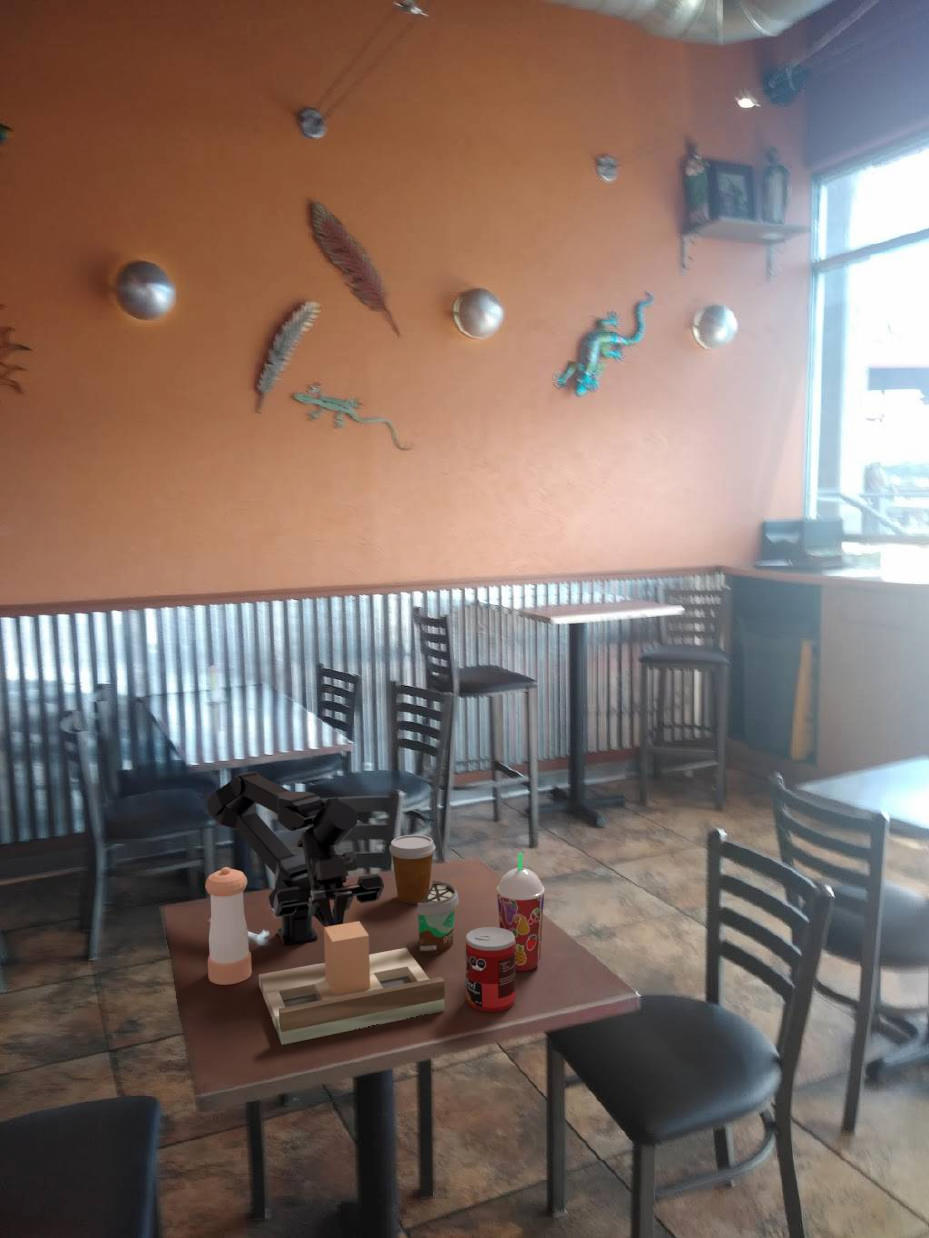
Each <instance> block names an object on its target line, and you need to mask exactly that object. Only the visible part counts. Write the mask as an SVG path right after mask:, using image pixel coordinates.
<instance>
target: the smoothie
mask: <svg viewBox="0 0 929 1238" xmlns="http://www.w3.org/2000/svg"><path fill="white" fill-rule="evenodd" d="M545 889H546V888H545V887H544V884H542V881H541V880H540V877H539V876H538V875H537V874H536V873H535V872H534V871H533V870H530V869H528V868H524V867H523V853H522V852H521V853H520V852H519V853H518V867H516V868H513V869H510V870H509V871H508V872H506V873H505V874H504V875H503V877H501V880H500V883H499V885H497V887H496V893H497V895H496V897H497V907H498V922H499V928H503V929H506V930H508V931H510V932H512V933H513V934H514V936H515V972H516V971H517V972H527V971H528V972H529V971H530V970H531V971H532V970H533V969H535V968H536V967H538V964H539V962H540V960H541V958H542V957H541V955H542V954H541V953H542V939H543V937H542V936H543V935H542V934H543V919H544V918H543V916H544V900H545Z"/></svg>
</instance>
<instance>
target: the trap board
mask: <svg viewBox="0 0 929 1238" xmlns="http://www.w3.org/2000/svg"><path fill="white" fill-rule="evenodd" d="M369 962H370V988H369V989H364V990H359V991H354V992H349V993H344V994H339V995H334V994H333V992H332V990H331V989H330V987H329V985H328V983H327V981H326V979H325V962H322V963H321V962H320V963H315V964H310V965H305V966H298V967H293V968H287V969H283V970H277V971H272V972H266V973H260V974H258V984H259V989H260V991H261V994H262V996H263V1000H264V1002H265V1004H266V1007H267V1010H268V1013H269V1015H270V1017H272V1018H271V1020H272V1023H273V1025H274V1028H275V1031H276V1033H277V1036H278V1038H279V1041H280V1044H281V1045H282V1046H284V1045H288V1044H294V1043H297V1042H298V1043H299V1042H302V1041H308V1040H311V1039H316V1038H322V1037H327V1036H331V1035H336V1034H341V1033H346V1032H349V1031H355V1029H356V1030H359V1028H360V1029H365V1028H368V1026H370V1027H372V1026H371V1025H375V1026H377V1025H376V1024H379V1025H383V1024H388V1023H393V1022H397V1021H402V1020H407V1018H408V1019H411V1018H410V1017H413V1018H417V1017H416V1016H418V1017H420V1016H419V1015H422V1016H425V1015H424V1014H427V1015H431V1014H435V1013H442V1012H445V1011H446V1004H445V1003H446V1001H445V1000H446V999H445V996H446V995H445V994H446V993H445V979H444V978H443V977H442V976H438V977H437V976H436V977H432V978H430V977H429V976H428V975H427V974H426V973H425V971H424V970H423V969H422V967H421V965H420V964H419V963H418V961H416V959H415V958H414V957H413V955H412V954H411V953H410V952H409V950H408V948H407V947H404V948H403V947H402V948H397V949H392V950H387V951H382V952H381V951H380V952H376V953H369ZM364 1027H365V1028H364Z"/></svg>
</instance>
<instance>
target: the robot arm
mask: <svg viewBox="0 0 929 1238" xmlns="http://www.w3.org/2000/svg"><path fill="white" fill-rule="evenodd" d="M256 804H258V805H260V806H262V807H263V808H265V809H267V810H268V811H271V812H273V813H274V814H275V815H276V816H277V821H278V823H280V824H281V825H282V826H283V827H284V828H285V829H287V830H288V831H290V832H295V831H298V830H302V829H306V828H307V829H306V830H305V831H304V832H301V836H300V838H299V839H298V840H297V847H298V848H302V851H303V853H300V854H297V855H295V854H294V853H293V852H292V851H291V850H290V849H289V848H288V847H287V846H286V845H285V844H284V841H282V840H281V839H280V838H279V837H278V836H277V835H276V833H275V832H274V831H273V830H272V829H271V828H270V827H269V825H267V823H266V822H265V821H264V820H263V818H261V817H260V816H259V814H257V812H256ZM206 806H207V812H208V814H209V815H210V816H211V817H212V818H213V819H214V820H215V821H216V822H217V823H219V825H221V826H223V827H226V828H230V829H233V830H236V832H237V833H238V834H239V835H240V836H241V837H242V838H243V839H244V841H245V842H246V843H247V844H248V845H249V846H250V848H251V849H252V850H253V851H254V852H255V854H257V855H258V857H259V858H260V859H261V860H262V862H263V863H264V864H265V865H266V866H267V867H268V868H269V870H270V871H271V872H272V873H273V875H274V889H273V890H272V891H271V893H270V894H269V896H268V899H269V901H268V902H269V905H270V908H271V909H273V911H274V917H276V918H281V928H278V929H277V935H278V936H279V938H280V940H281V943H282V944H283V945H285V946H286V945H293V944H298V943H303V942H309V941H315V940H316V941H317V940H318V939H319V936H318V934H317V932H316V930H315V929H314V927H313V917H314V918H316V920H317V921H318V922H319V923H320V924H321V925H322V926H323V928H324V927H328V926H334V925H340V924H344V920H345V919H344V918H345V912H346V911H348V910H349V909H350V907H351V905H352V902H353V900H354V897H355V898H356V901H358V903H360V904H366V903H372V902H376V901H378V900H380V898H381V895H382V893H383V891H384V888H385V884H384V881H383V878H382V876H381V875H379V874H378V873H376V874H370V875H362V876H359V877H358V879H357V882H356V883H355V884H351V885H350V884H349V885H344V883H347V880H348V879H347V877H349V872H353V871H356V870H357V869H358V860H357V855H356V852H355V851H353V850H352V851H346V852H344V853H343V854H342V857H340V856H339V854H338V853H337V849H336V848H337V847H336V846H338V845H339V844H341V843H342V842H343V840H345V838H347V835H349V834H350V833H351V831H352V830H353V829H354V828H355V827H356V826H357V823H358V819H359V818H358V815H357V812H356V809H354V808H353V807H351V805H349V804H348V803H345V802H343V801H340V799H339V797H337V796H334V797H331V798H327V799H326V801H324V800H322V798H321V797H320V796H319V795H318V794H317V793H314V792H309V791H294V790H293V791H292V790H289V789H287V788H285V787H283V786H282V785H279V784H277V783H275V782H273V781H271V780H269V779H267V778H265V777H263V776H261V773H259V772H258V771H249V772H245V773H240V774H236V775H235V776H234V777H232V778H231V780H230V781H229V782H227V783H226V784H224V785H222V786H221V787H219V788H218V789H216V790H215V791H213V792H212V793H211V794H210V797H209V799H208V801H207V804H206ZM331 901H333V903H334V905H333V908H332V909H331Z"/></svg>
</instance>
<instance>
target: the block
mask: <svg viewBox="0 0 929 1238" xmlns="http://www.w3.org/2000/svg"><path fill="white" fill-rule="evenodd" d="M323 940H324V963H325V979H326V981H327V983H328V985H329V987H330V989H331V990H332V992H333V994H334V995H339V994H344V993H349V992H354V991H359V990H364V989H369V988H370V962H369V954H370V935H369V933H368V932H367V931H366V929H365V928H364V926H363V925H362V923H361V922H360V920H358V921H353V922H347V923H346V922H345V923H343V924H340V925H334V926H328V927H324V926H323Z"/></svg>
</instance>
